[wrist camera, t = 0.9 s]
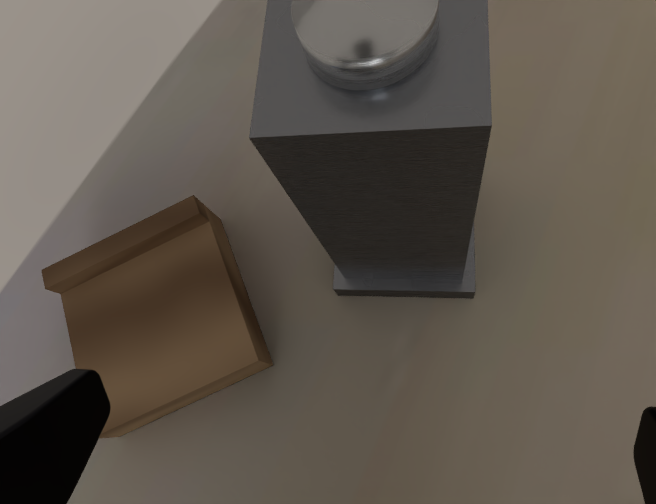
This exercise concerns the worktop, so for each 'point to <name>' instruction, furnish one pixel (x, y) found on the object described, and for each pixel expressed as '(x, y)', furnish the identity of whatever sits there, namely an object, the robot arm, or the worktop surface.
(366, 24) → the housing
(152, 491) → the worktop surface
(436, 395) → the worktop surface
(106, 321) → the square wooden tray
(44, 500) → the robot arm
